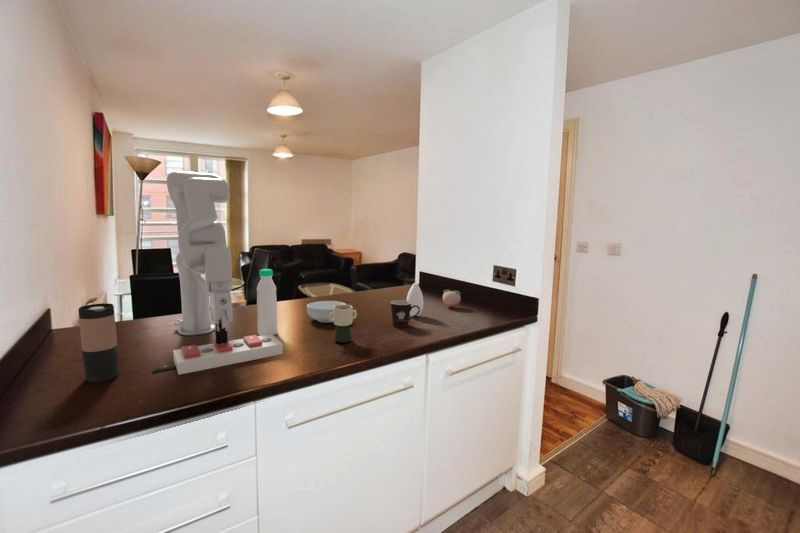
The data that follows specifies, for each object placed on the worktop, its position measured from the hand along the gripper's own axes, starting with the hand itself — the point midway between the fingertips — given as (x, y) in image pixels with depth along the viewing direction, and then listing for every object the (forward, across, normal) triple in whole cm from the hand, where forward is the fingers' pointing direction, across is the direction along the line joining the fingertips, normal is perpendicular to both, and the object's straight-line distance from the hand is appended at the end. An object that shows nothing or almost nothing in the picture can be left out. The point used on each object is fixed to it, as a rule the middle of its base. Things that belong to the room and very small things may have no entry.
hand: (221, 342), depth 120 cm
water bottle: (+5, +15, -19) cm, 25 cm away
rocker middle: (+1, -2, 0) cm, 2 cm away
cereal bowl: (+5, +21, -46) cm, 51 cm away
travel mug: (+5, +2, +30) cm, 31 cm away
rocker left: (+1, -2, +9) cm, 9 cm away
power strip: (+5, -2, +1) cm, 5 cm away
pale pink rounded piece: (+5, +9, -109) cm, 109 cm away
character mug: (+5, -7, -39) cm, 40 cm away
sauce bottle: (+5, +6, -83) cm, 83 cm away
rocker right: (+1, -2, -9) cm, 9 cm away
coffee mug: (+5, -4, -70) cm, 70 cm away
